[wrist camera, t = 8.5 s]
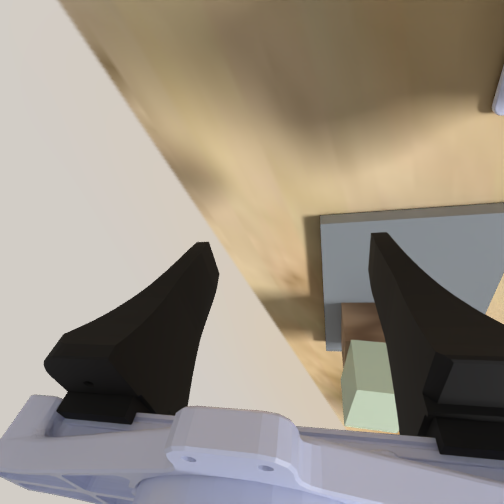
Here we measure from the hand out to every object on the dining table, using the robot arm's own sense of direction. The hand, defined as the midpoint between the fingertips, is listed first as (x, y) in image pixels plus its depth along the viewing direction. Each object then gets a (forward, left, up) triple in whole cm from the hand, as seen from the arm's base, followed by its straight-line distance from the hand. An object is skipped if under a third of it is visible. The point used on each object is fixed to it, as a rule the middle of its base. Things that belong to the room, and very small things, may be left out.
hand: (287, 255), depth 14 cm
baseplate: (-8, +12, -9) cm, 17 cm away
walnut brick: (-5, +16, -8) cm, 18 cm away
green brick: (-5, +16, -4) cm, 17 cm away
